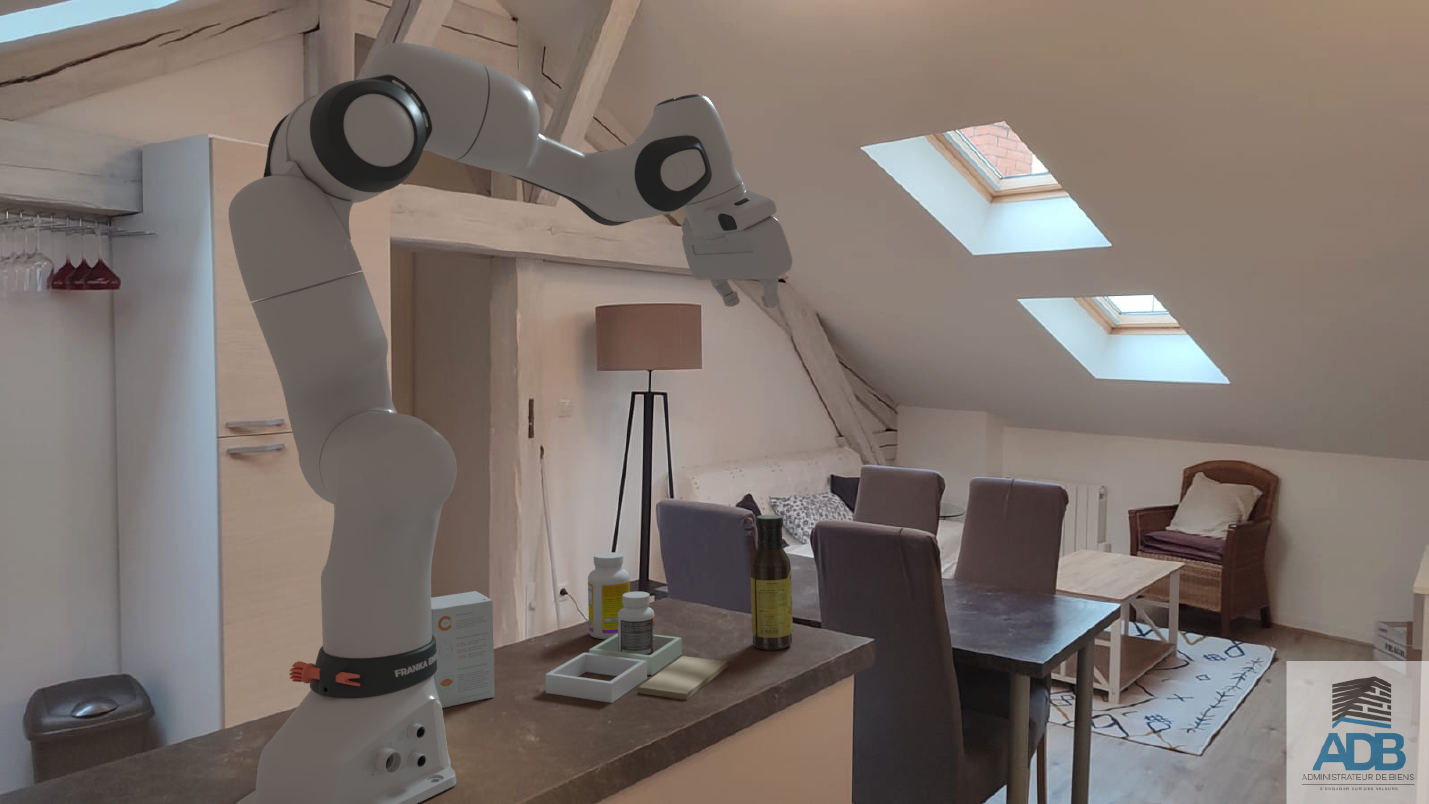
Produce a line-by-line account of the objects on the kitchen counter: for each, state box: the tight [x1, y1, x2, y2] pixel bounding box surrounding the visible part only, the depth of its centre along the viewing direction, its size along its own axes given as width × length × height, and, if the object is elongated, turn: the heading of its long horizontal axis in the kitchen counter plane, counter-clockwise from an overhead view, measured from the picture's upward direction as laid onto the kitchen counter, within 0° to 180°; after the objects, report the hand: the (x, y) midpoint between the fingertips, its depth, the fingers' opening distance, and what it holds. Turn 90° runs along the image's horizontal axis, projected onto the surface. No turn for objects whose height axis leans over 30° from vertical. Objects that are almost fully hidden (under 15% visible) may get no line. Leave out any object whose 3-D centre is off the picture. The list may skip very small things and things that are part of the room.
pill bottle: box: [618, 591, 656, 655], centre depth 141 cm, size 5×5×10 cm
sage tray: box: [588, 633, 683, 676], centre depth 141 cm, size 10×10×2 cm
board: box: [638, 655, 728, 701], centre depth 133 cm, size 14×7×1 cm, turn 157°
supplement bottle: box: [587, 551, 631, 640], centre depth 154 cm, size 7×7×13 cm
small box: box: [431, 590, 496, 709], centre depth 127 cm, size 8×6×13 cm
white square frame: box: [545, 652, 648, 704], centre depth 131 cm, size 10×10×2 cm
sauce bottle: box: [750, 514, 794, 651], centre depth 148 cm, size 6×6×20 cm
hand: (752, 305), depth 137 cm, fingers open, 8 cm apart
